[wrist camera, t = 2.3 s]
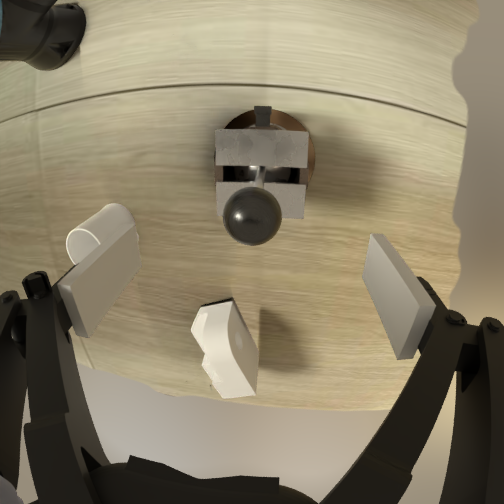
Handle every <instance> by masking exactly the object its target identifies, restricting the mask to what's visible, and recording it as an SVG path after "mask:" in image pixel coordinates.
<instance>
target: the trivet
mask: <svg viewBox="0 0 504 504" xmlns="http://www.w3.org/2000/svg"><path fill="white" fill-rule="evenodd" d="M255 123H256V114H254V110H251V111H248V112H245V113H243V114H241V115H239V116H237V117H236V118H234V119H233V120H232V121H231V122H229V123H228V124H227V125H226V127H225V128H224V129H244V128H245V127H247V126H249V125H252V124H255ZM270 123H273V124H276V125H279V126H281V127H283V128H285V129H286V130H289V131H305V132H307V131H306V130H305V128H304V127H303V126H302V125H301V124H300V123H299V122H298V121H297V120H296V119H294V118H293V117H291V116H289V115H288V114H286V113H283V112H280V111H277V110H272V115H270ZM215 159H216V147H215V153H214V161H215ZM307 160H308V162H309V174H308V182H309V180H310V178H311V176H312V173H313V170H314V164H315V152H314V146H313V143H312V140H311V138H310V136H309V139H308V159H307Z"/></svg>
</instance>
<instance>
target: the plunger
mask: <svg viewBox="0 0 504 504" xmlns="http://www.w3.org/2000/svg"><path fill="white" fill-rule="evenodd" d="M290 172H291V167H275V166H236V165H234V173H235V177H236V179H237V181H254V185H253V187H245V188H242V189H240V190H238V191H236V192H235V193H233V194H232V195H231V196H230V197H229V199H228V200H227V202H226V204H225V206H224V210H223V223H224V226H225V228H226V230H227V232H228V233H229V235H230V236H231V237H232V238H233V239H234V240H236V241H237V242H239V243H241V244H244V245H251V246H255V245H260V244H263V243H266V242H267V241H269V240H270V239H272V238H273V237H274V236H275V234H276V233H277V231H278V230H279V228H280V225H281V220H282V212H281V207H280V205H279V202H278V201H277V199H276V198H275V197H274V196H273V195H272V194H271V193H270V192H268V191H267V190H265V189H264V182H284V183H287V181H288V179H289V177H290Z"/></svg>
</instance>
